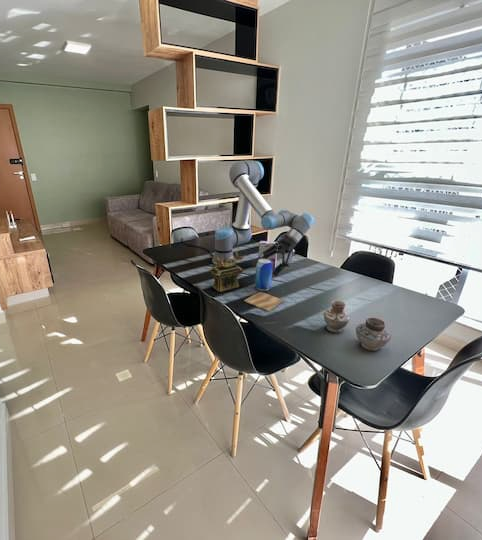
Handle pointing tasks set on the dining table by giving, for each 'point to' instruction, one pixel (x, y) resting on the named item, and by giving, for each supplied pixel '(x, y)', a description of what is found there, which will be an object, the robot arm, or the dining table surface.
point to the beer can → (263, 274)
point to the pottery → (358, 327)
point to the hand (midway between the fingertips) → (266, 270)
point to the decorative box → (226, 274)
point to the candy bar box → (264, 246)
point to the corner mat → (264, 301)
